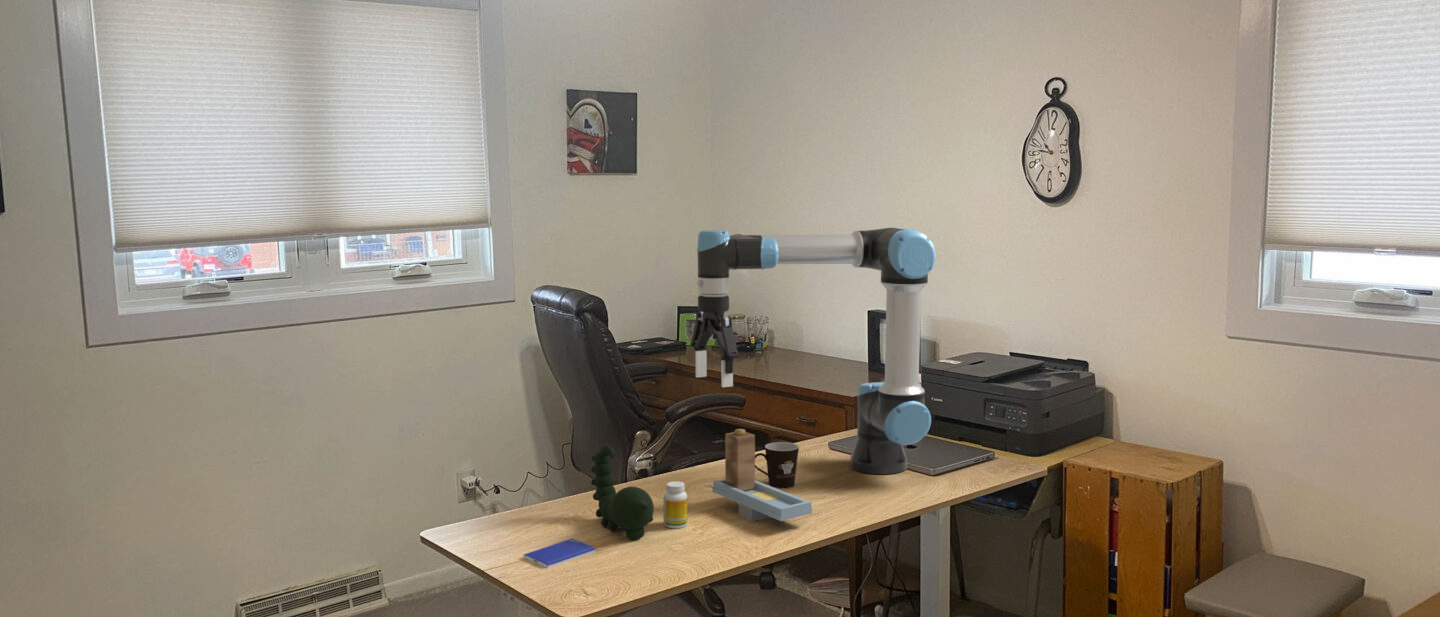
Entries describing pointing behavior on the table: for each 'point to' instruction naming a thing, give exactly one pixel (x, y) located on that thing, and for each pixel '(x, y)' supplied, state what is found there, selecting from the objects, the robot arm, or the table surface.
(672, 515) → the supplement bottle
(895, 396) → the robot arm
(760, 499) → the beam
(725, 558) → the table surface
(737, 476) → the brown block with knob
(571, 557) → the hard drive
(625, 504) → the toy figurine
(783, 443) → the coffee mug
